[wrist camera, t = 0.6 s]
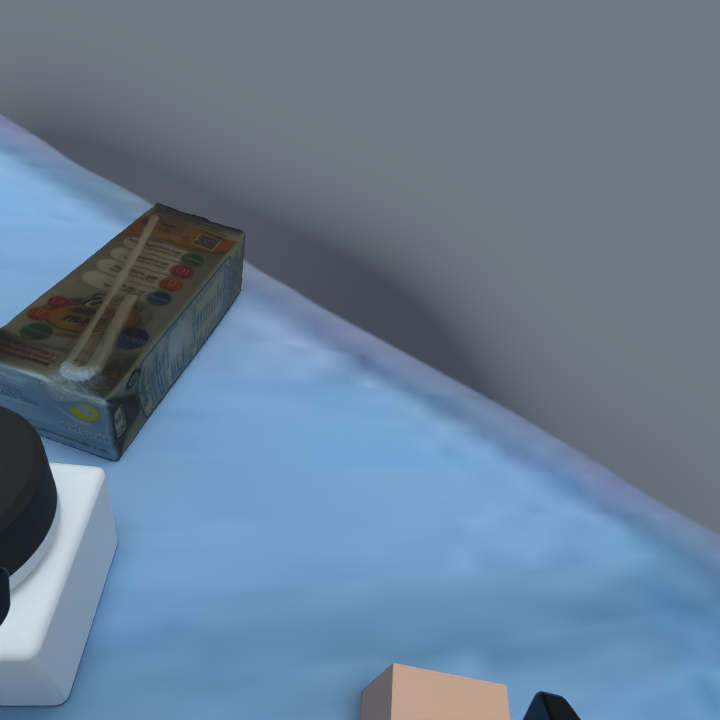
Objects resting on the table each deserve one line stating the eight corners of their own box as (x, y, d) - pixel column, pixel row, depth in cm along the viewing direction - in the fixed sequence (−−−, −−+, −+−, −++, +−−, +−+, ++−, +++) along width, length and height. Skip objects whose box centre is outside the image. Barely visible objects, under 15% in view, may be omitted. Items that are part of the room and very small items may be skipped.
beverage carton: (-15, 424, 28) (-51, 342, 23) (157, 262, 42) (155, 192, 37) (117, 469, 28) (106, 395, 23) (244, 292, 42) (252, 226, 38)
